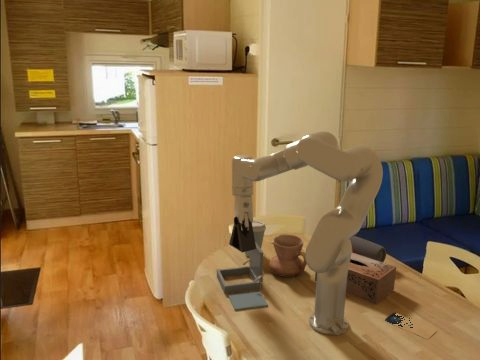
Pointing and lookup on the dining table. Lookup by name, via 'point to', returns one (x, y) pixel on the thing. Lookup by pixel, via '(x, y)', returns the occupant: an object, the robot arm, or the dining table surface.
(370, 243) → the bluetooth speaker
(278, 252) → the ceramic jug
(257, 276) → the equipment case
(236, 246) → the phone stand
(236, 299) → the slate mat
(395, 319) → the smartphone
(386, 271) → the tissue box cover
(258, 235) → the disposable coffee cup
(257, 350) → the dining table surface
